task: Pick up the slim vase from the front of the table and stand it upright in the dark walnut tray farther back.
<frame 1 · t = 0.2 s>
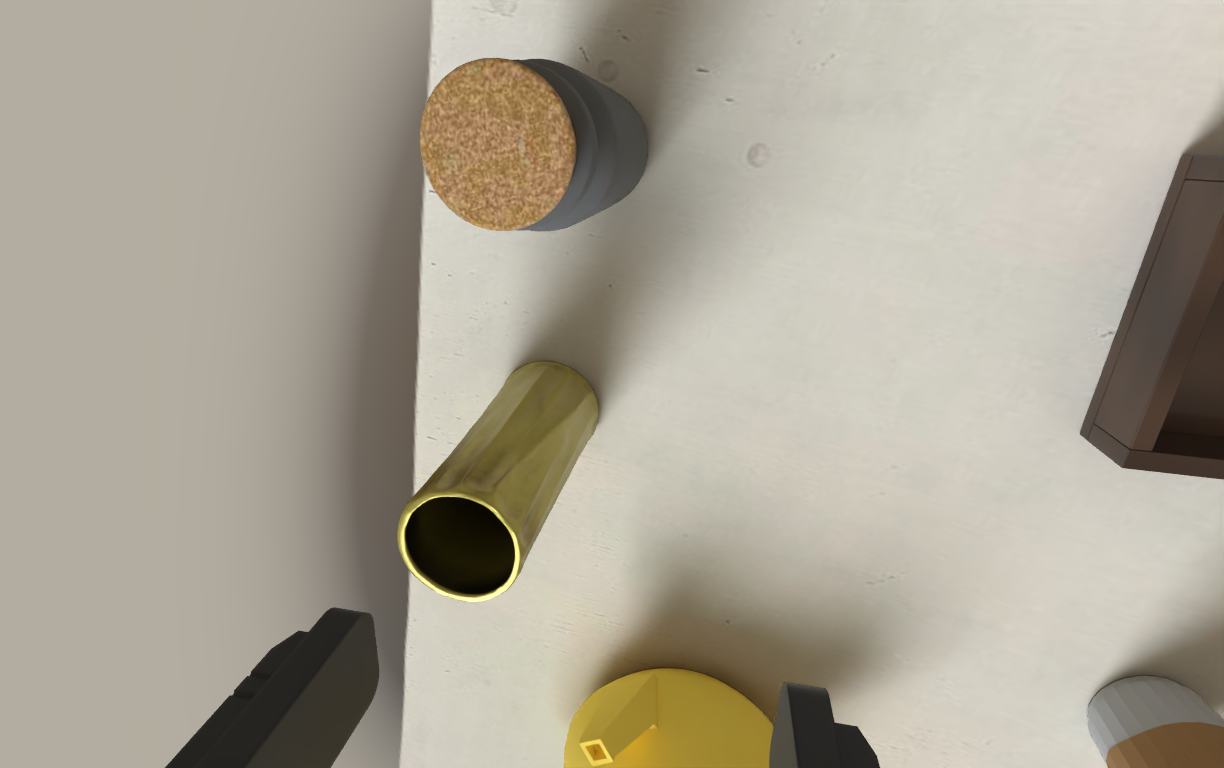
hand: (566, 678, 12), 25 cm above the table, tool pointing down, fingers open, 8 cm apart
teapot: (677, 732, 45), on the table
bottle: (593, 149, 32), on the table
vase: (550, 406, 37), on the table
coffee cup: (1138, 708, 38), on the table
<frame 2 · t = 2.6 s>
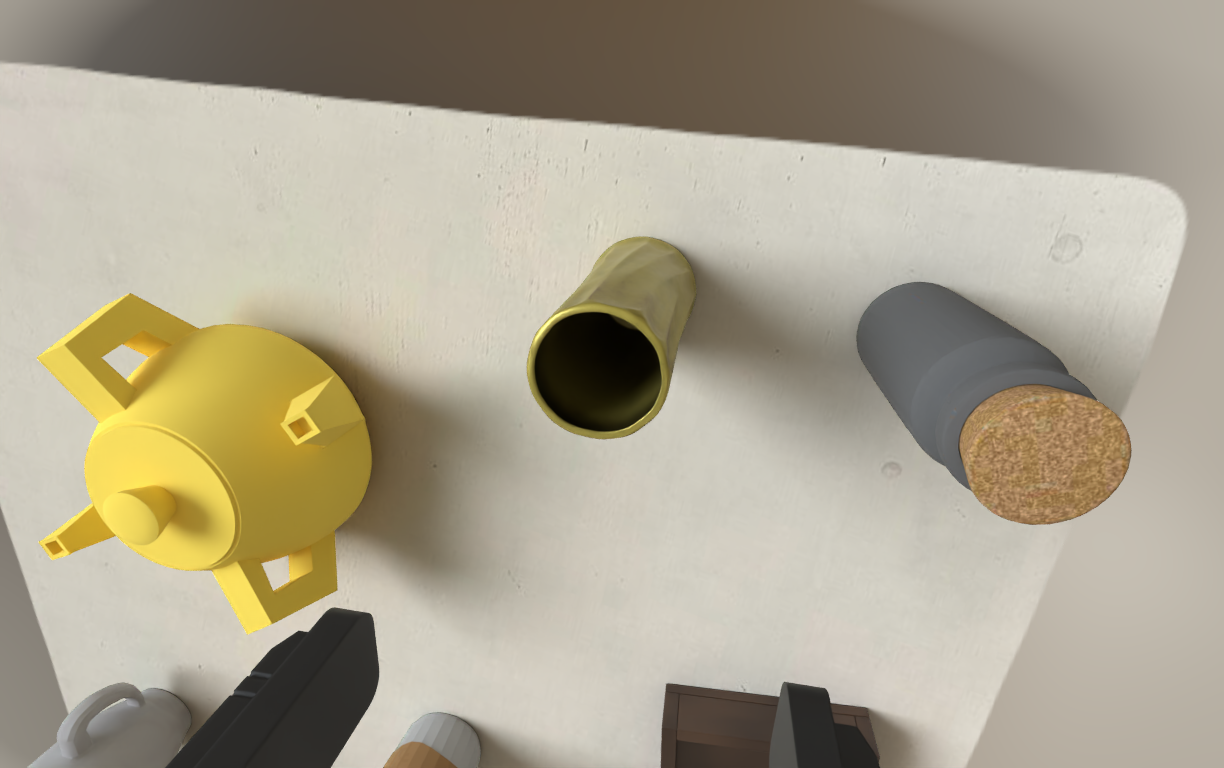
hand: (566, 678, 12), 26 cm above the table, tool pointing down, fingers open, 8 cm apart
tray: (757, 765, 46), on the table
teapot: (282, 423, 43), on the table
bottle: (910, 333, 34), on the table
vase: (642, 290, 35), on the table
coffee cup: (447, 737, 51), on the table
mug: (164, 696, 55), on the table
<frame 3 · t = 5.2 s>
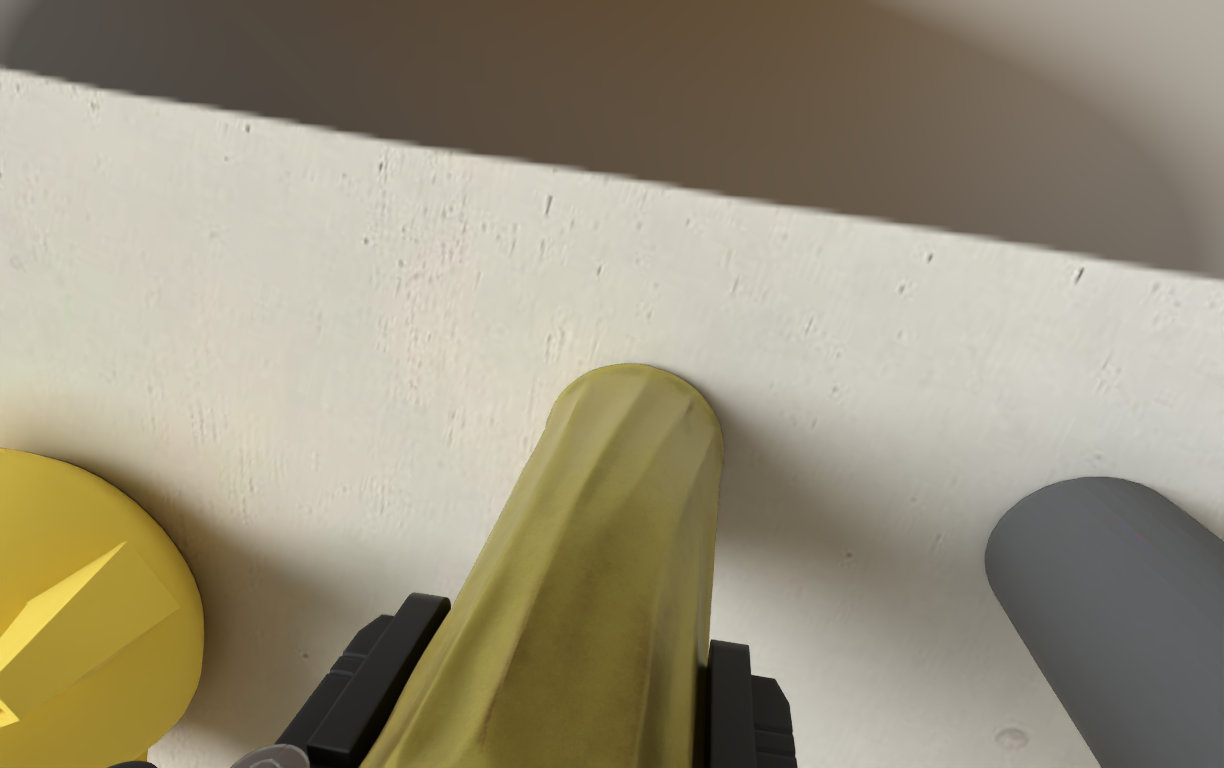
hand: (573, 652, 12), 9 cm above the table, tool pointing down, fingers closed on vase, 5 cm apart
teapot: (80, 575, 28), on the table
bottle: (1077, 550, 20), on the table
vase: (633, 442, 21), on the table, touching gripper
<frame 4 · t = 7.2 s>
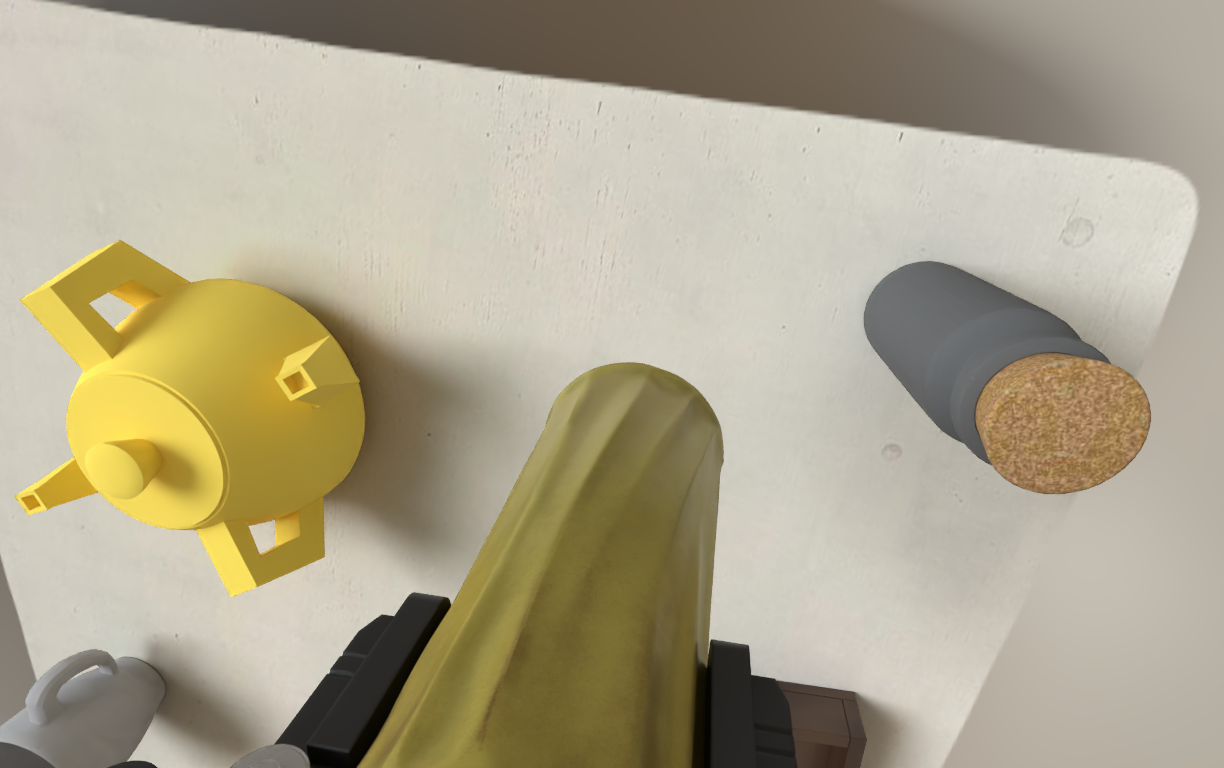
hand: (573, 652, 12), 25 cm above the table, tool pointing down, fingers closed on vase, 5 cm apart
tray: (741, 747, 46), on the table
teapot: (273, 386, 41), on the table
bottle: (918, 313, 33), on the table
vase: (633, 441, 21), point 16 cm above the table, touching gripper
mug: (138, 665, 54), on the table
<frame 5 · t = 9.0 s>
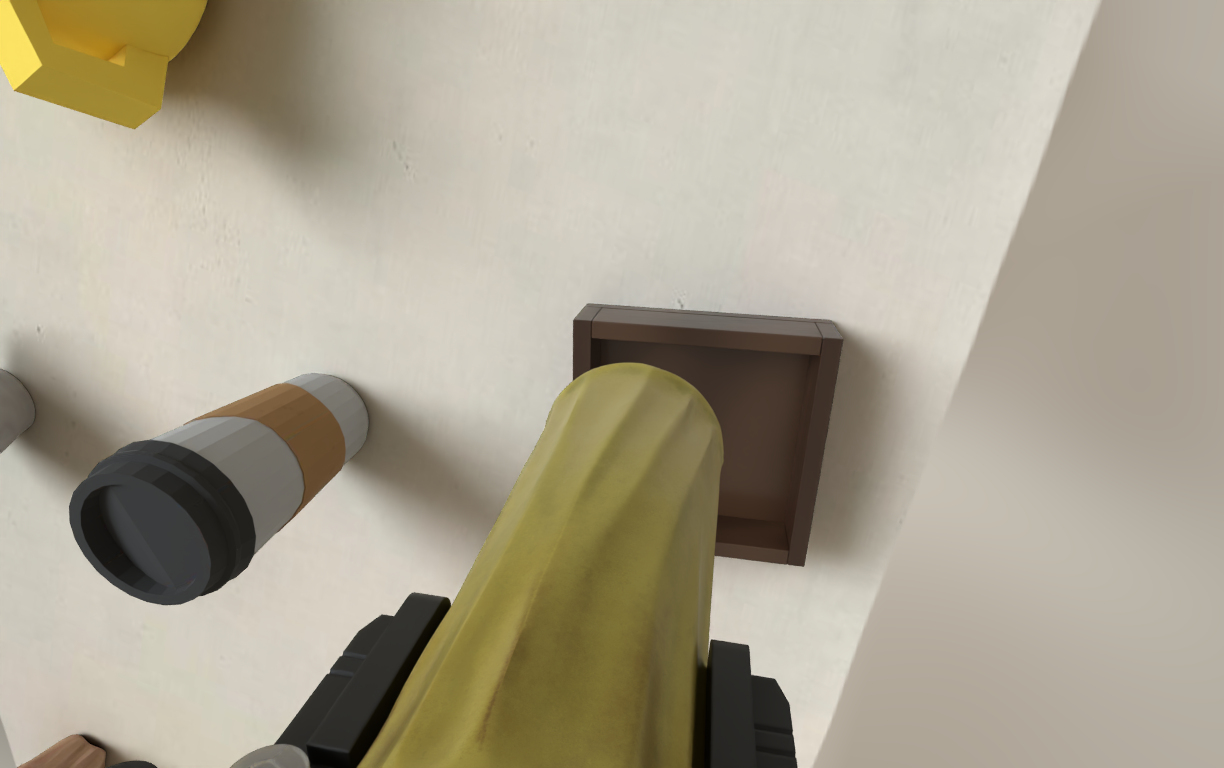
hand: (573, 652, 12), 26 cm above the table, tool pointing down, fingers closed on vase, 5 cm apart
tray: (696, 421, 38), on the table
cupcake: (92, 747, 62), on the table
vase: (633, 442, 21), point 16 cm above the table, touching gripper
coffee cup: (331, 412, 43), on the table
mug: (2, 379, 46), on the table
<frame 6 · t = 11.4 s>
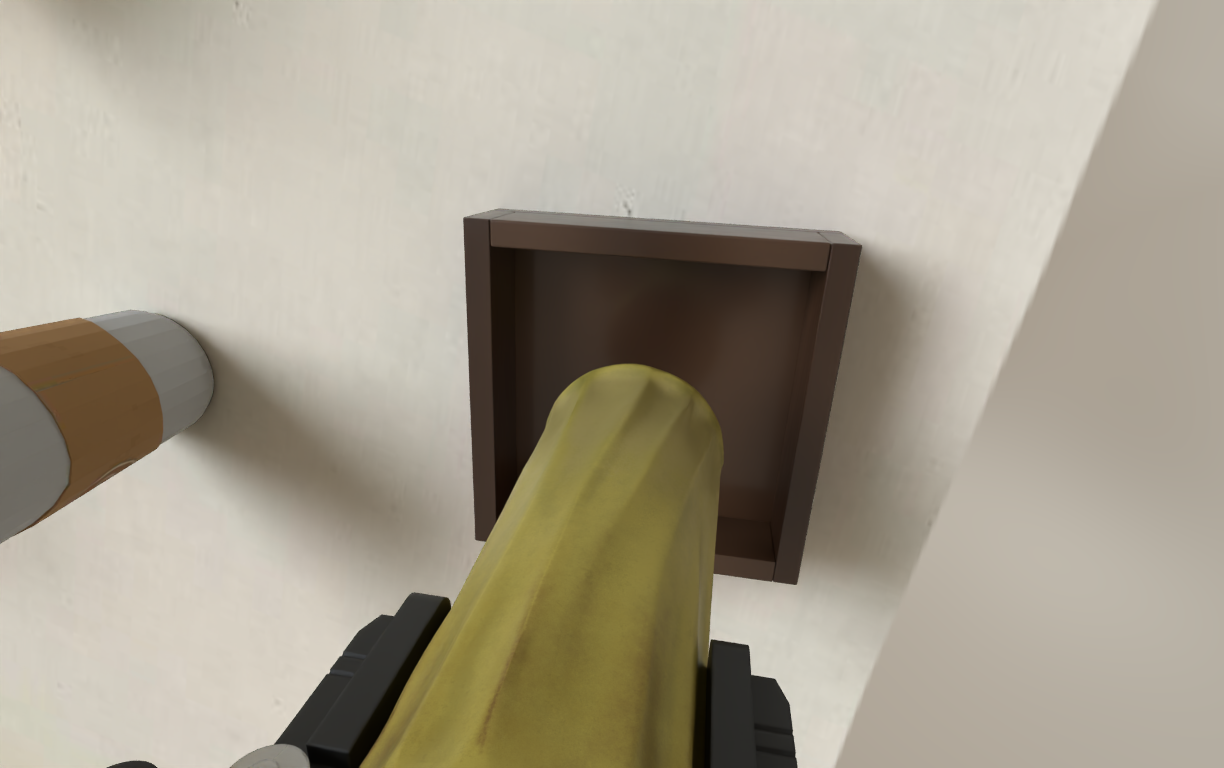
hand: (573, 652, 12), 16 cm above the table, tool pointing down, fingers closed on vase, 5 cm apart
tray: (650, 380, 27), on the table
vase: (633, 443, 21), point 7 cm above the table, touching gripper
coffee cup: (165, 366, 32), on the table
when the fingers open (10 cm above the table, at t = 13.3 s): vase stays where it is, resting on tray.
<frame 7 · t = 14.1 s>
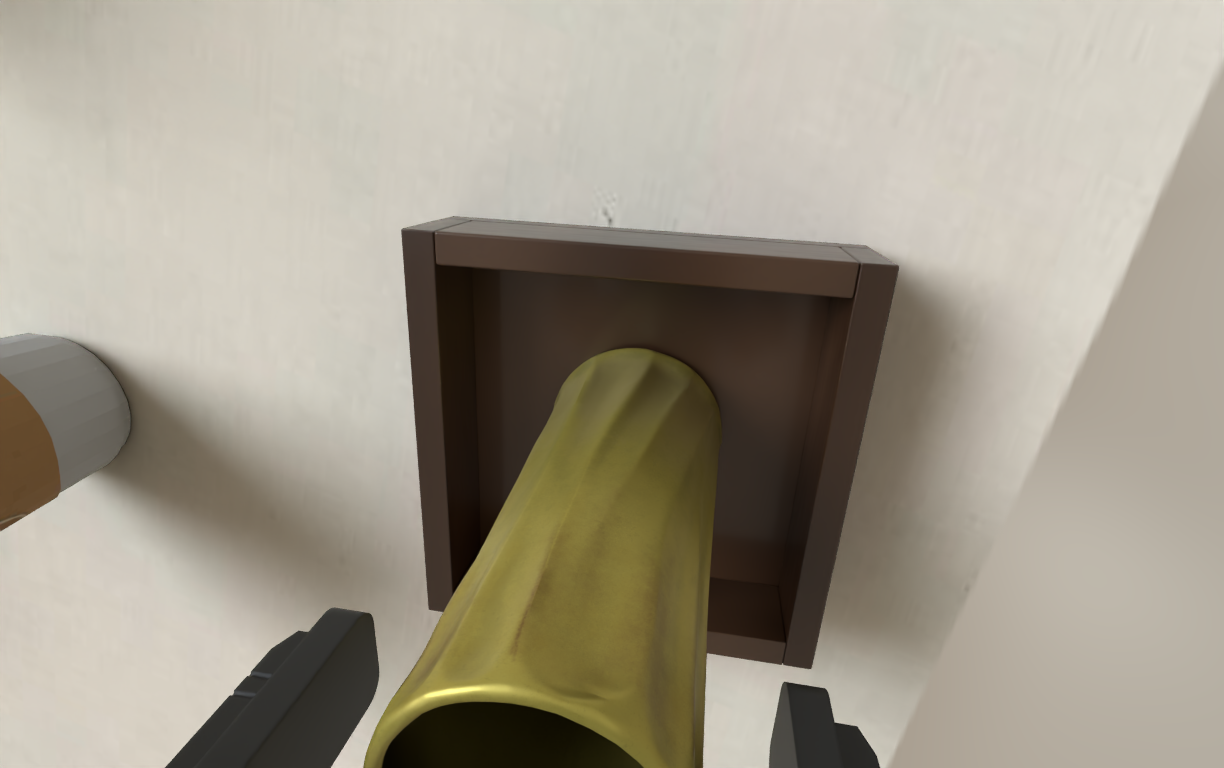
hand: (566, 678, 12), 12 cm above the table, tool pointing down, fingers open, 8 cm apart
tray: (637, 419, 23), on the table
vase: (636, 423, 23), point 1 cm above the table, touching tray
coffee cup: (75, 397, 27), on the table
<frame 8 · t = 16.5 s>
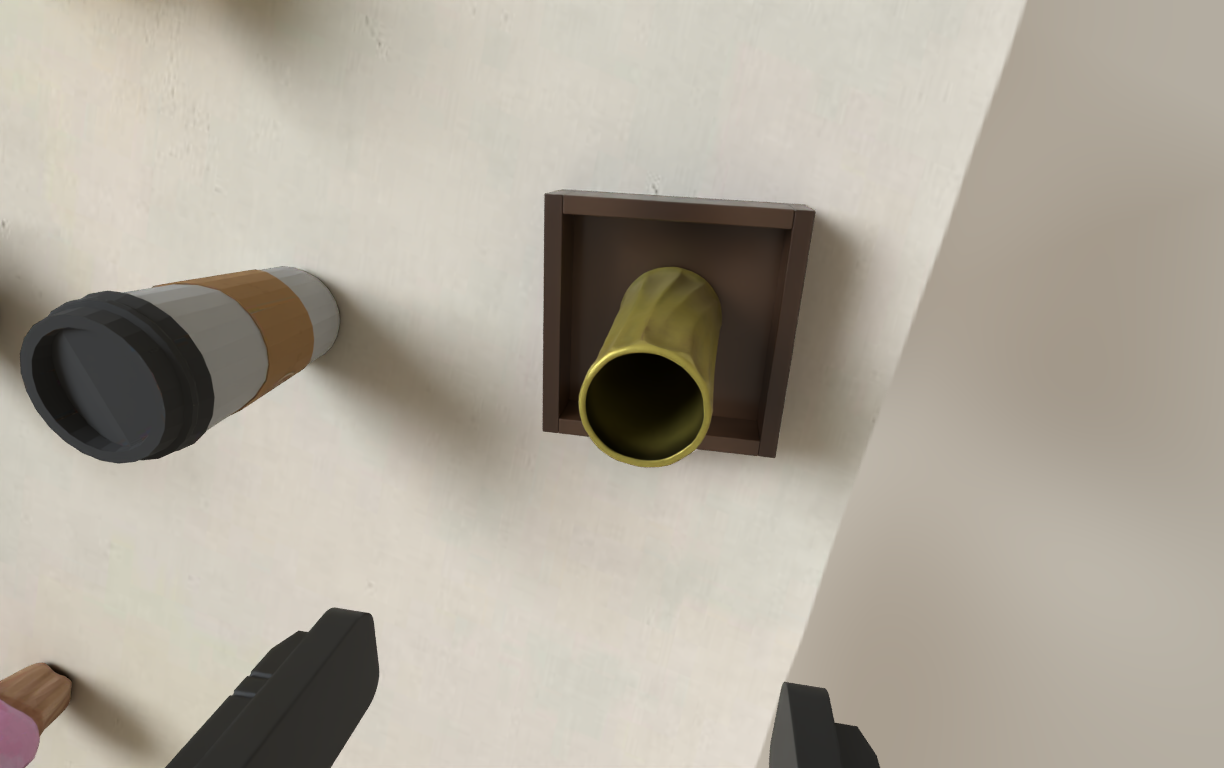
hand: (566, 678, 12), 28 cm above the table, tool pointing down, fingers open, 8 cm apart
tray: (670, 315, 38), on the table
cupcake: (57, 677, 61), on the table
vase: (670, 316, 37), point 1 cm above the table, touching tray
coffee cup: (301, 311, 42), on the table
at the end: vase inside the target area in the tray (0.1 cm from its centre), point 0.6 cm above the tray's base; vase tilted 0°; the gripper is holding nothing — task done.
